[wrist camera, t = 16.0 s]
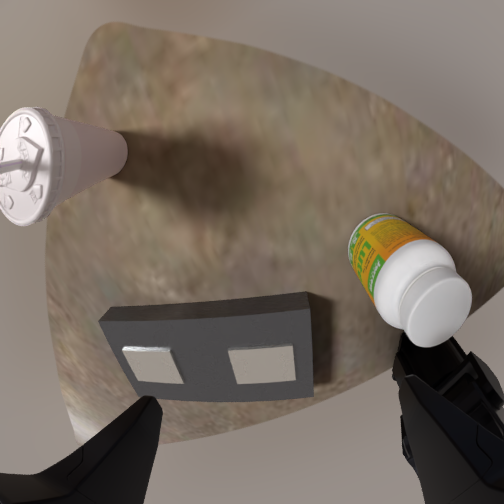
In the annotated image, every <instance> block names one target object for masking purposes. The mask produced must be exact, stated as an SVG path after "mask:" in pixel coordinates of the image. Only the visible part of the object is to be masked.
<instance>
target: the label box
mask: <svg viewBox="0 0 504 504" xmlns="http://www.w3.org/2000/svg"><path fill="white" fill-rule="evenodd" d="M98 322H99V324H100V326H101V328H102V330H103V332H104V335H105V337H106V339H107V341H108V343H109V345H110V347H111V349H112V351H113V352H114V354H115V356H116V358H117V360H118V362H119V364H120V366H121V367H122V369H123V371H124V373H125V374H126V376H127V378H128V380H129V381H130V383H131V385H132V386H133V388H134V390H135V391H136V393H137V395H138V396H139V397H142V396H144V395H150V396H154V397H155V398H156V399H167V400H181V401H201V402H252V401H272V400H286V399H297V398H306V397H314V390H313V355H312V333H311V315H310V306H309V301H308V296H307V292H299V293H290V294H282V295H273V296H263V297H253V298H243V299H232V300H221V301H209V302H196V303H182V304H166V305H148V306H126V307H110V309H109V310H108V311H107V312H106V313H105V314H104V315H103V316H102V317H101V319H100V320H99V321H98Z"/></svg>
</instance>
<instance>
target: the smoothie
mask: <svg viewBox="0 0 504 504" xmlns="http://www.w3.org/2000/svg"><path fill="white" fill-rule="evenodd" d="M127 155H128V149H127V144H126V141H125V139H124V138H123V136H122V135H121V134H119V133H118V132H115V131H112V130H108V129H105V128H101V127H97V126H94V125H90V124H86V123H82V122H78V121H74V120H70V119H66V118H62V117H58V116H53V115H52V114H51V113H50V112H49V111H48V110H47V109H44V108H41V107H32V108H27V107H26V108H21V109H18V110H16V111H15V112H14V113H12V114H11V115H10V116H9V117H8V118H7V120H6V121H5V122H4V124H3V125H2V127H1V129H0V209H1V210H2V212H3V213H4V215H5V216H6V217H7V218H8V219H9V220H10V221H11V222H13V223H15V224H16V225H19V226H27V225H30V224H32V223H35V222H40V221H42V220H43V219H45V218H46V217H47V216H48V215H49V214H50V213H51V211H52V210H53V208H54V207H55V206H57V205H58V204H60V203H62V202H64V201H65V200H67V199H69V198H71V197H72V196H74V195H76V194H78V193H80V192H82V191H83V190H85V189H87V188H89V187H91V186H93V185H95V184H97V183H99V182H101V181H103V180H105V179H107V178H109V177H111V176H113V175H115V174H117V173H118V172H120V171H121V169H122V168H123V167H124V165H125V163H126V160H127Z"/></svg>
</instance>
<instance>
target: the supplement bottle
mask: <svg viewBox="0 0 504 504" xmlns="http://www.w3.org/2000/svg"><path fill="white" fill-rule="evenodd" d="M348 256H349V260H350V263H351V266H352V268H353V270H354V271H355V273H356V275H357V276H358V278H359V280H360V281H361V283H362V285H363V286H364V288H365V290H366V291H367V293H368V295H369V297H370V298H371V300H372V302H373V304H374V305H375V307H376V309H377V311H378V312H379V314H380V315H381V317H382V318H383V319H384V320H385V321H386V322H387V323H388V324H390V325H391V326H393V327H395V328H399V329H404V331H405V333H406V334H407V336H408V337H409V339H410V340H411V341H412V342H413V343H414V344H415V345H417V346H420V347H432V346H436V345H439V344H441V343H443V342H445V341H446V340H448V339H449V338H450V337H452V336H453V335H454V334H455V333H456V332H457V331H458V330H459V328H460V327H461V326H462V325H463V323H464V322H465V320H466V318H467V316H468V314H469V311H470V308H471V303H472V293H471V289H470V287H469V285H468V283H467V282H466V281H465V280H464V279H463V278H462V277H460V276H459V275H458V274H457V273H456V268H455V264H454V261H453V259H452V257H451V255H450V254H449V253H448V251H447V250H446V249H445V248H443V247H442V246H441V245H440V244H438V243H437V242H436V241H434V240H433V239H431V238H430V237H428V236H427V235H425V234H424V233H422V232H421V231H419V230H417V229H416V228H414V227H413V226H411V225H410V224H408V223H407V222H405V221H404V220H402V219H400V218H399V217H397V216H395V215H392V214H387V213H380V214H375V215H372V216H370V217H368V218H366V219H365V220H363V221H362V222H361V223H360V224H359V225H358V226H357V227H356V228H355V230H354V231H353V233H352V235H351V238H350V241H349V245H348Z"/></svg>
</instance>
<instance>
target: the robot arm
mask: <svg viewBox="0 0 504 504" xmlns="http://www.w3.org/2000/svg"><path fill="white" fill-rule="evenodd" d="M406 336H407V334H406V333H405V332H404V333H402V335H401V337H400V342H399V347H398V352H397V353H396V355H395V360H394V365H393V369H392V371H393V374H392V378H393V380H395V381H397V384H398V386H399V388H400V389H399V400H400V404H401V409H402V415H401V416H400V418H401V433H402V449H403V455H404V456H405V458H406V460H407V461H408V463H409V464H410V465H411V466H412V467H413V469H414V470H415V472H416V474H417V475H418V478H419V480H420V483H421V487H422V492H423V496H424V500H425V504H504V408H503V407H502V406H503V405H504V393H503V391H502V388H501V386H500V383H499V381H498V379H497V377H496V376H495V375H494V373H493V372H492V371H491V370H490V368H489V367H488V366H487V364H485V363H484V362H483V361H482V360H481V359H480V358H478V357H477V356H476V355H475V354H474V353H472V352H471V351H470V353H469V354H468V355H466V354H465V352H464V351H463V349H462V348H461V347H460V345H459V344H458V343H457V341H456V340H455V339H454V337H453V336H452V337H450V338H449V339H448V340H446V341H445V342H443V343H441V344H439V345H436V346H432V347H420V346H417V345H415V344H414V343H413V342H412V341H411V340H410V339H409V337H408V336H407V337H406ZM162 415H163V411H162V408H161V406H160V405H159V403H158V401H157V400H156V398H155V397H154V396H150V395H144V396H142V397H141V398H140V399H139V400H137V401H136V402H135V403H134V404H133V405H131V406H130V407H129V408H128V409H127V410H125V411H124V412H123V413H122V414H121V415H119V416H118V417H117V418H116V419H115V420H113V421H112V422H111V423H110V424H108V425H107V426H106V427H105V428H103V429H102V430H101V431H100V432H99V433H97V434H96V435H95V436H94V437H92V438H91V439H90V440H88V441H87V442H86V443H85V444H84V445H82V446H81V447H79V448H78V449H77V450H76V451H74V452H73V453H71V454H70V455H69V456H67V457H66V458H64V459H63V460H61V461H59V462H58V463H56V464H54V465H53V466H51V467H49V468H47V469H46V470H44V471H42V472H40V473H37V474H33V475H21V474H6V473H0V504H143V503H144V499H145V495H146V491H147V487H148V482H149V478H150V474H151V470H152V467H153V463H154V459H155V455H156V451H157V447H158V442H159V435H160V428H161V421H162Z"/></svg>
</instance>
